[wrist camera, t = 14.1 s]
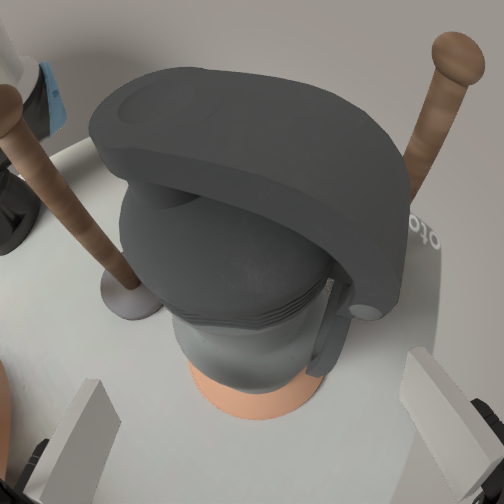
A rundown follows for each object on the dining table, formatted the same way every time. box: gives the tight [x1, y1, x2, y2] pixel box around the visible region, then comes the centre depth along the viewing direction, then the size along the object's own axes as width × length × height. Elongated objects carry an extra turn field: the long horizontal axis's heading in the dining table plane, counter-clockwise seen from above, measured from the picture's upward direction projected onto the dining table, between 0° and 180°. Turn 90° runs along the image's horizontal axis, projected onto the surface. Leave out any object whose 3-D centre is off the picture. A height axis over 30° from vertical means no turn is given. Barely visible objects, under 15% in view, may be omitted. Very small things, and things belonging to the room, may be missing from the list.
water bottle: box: [88, 67, 410, 394], centre depth 18 cm, size 10×10×28 cm
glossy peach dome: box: [188, 359, 324, 420], centre depth 31 cm, size 15×15×1 cm
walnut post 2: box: [403, 32, 485, 204], centre depth 23 cm, size 9×9×29 cm
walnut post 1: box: [0, 84, 163, 320], centre depth 23 cm, size 9×9×29 cm
